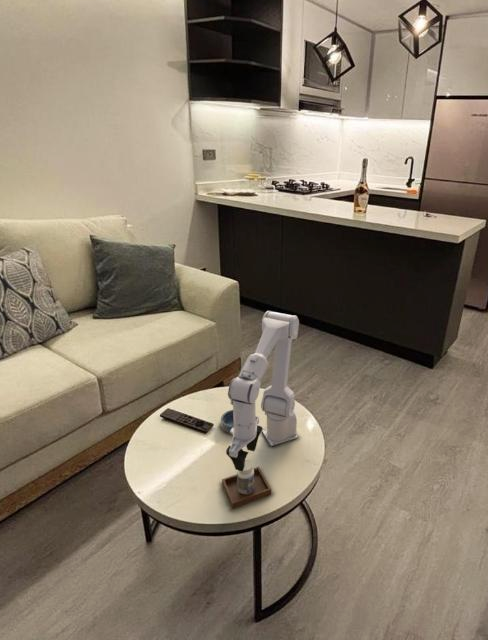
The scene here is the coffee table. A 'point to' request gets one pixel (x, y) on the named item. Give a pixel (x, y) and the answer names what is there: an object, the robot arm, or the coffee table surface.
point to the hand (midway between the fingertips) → (245, 459)
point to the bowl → (227, 421)
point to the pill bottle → (246, 478)
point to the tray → (240, 499)
